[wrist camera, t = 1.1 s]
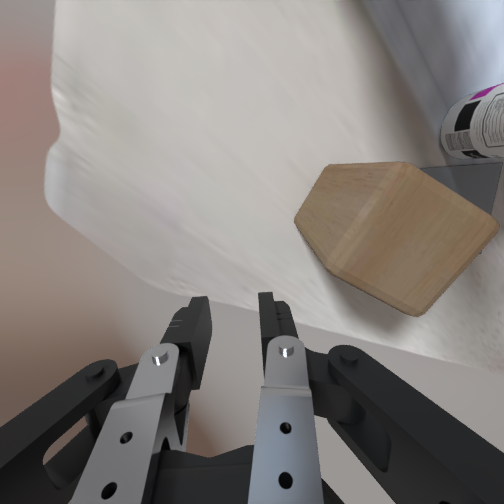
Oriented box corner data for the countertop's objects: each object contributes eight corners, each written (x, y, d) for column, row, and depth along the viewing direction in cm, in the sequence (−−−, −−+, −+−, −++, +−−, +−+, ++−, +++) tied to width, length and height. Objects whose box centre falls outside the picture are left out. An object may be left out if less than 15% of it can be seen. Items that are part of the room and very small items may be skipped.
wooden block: (382, 195, 37) (513, 224, 18) (343, 250, 40) (421, 325, 21) (326, 161, 36) (406, 155, 17) (290, 221, 39) (323, 273, 20)
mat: (377, 171, 36) (378, 171, 36) (501, 162, 36) (503, 162, 36) (369, 260, 41) (370, 261, 41) (479, 253, 41) (481, 253, 40)
